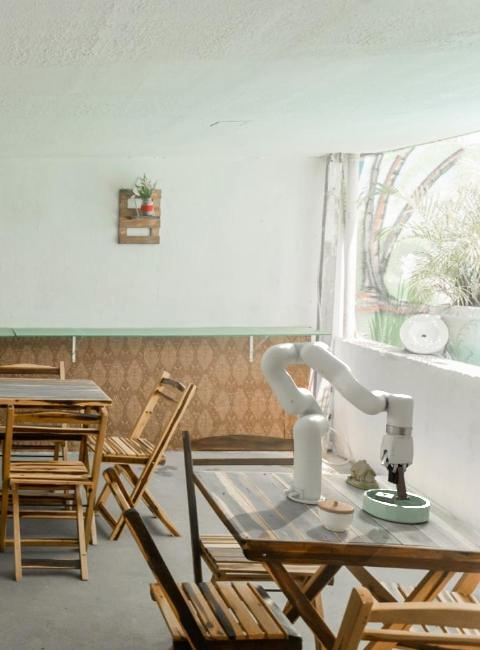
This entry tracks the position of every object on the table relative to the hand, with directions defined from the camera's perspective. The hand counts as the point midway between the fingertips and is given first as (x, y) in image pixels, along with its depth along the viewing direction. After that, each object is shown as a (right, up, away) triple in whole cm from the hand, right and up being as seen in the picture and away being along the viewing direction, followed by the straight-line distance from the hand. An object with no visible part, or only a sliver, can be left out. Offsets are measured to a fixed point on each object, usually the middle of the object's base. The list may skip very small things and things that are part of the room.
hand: (395, 482), depth 233 cm
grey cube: (+1, -12, +8) cm, 14 cm away
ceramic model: (+12, -11, +38) cm, 42 cm away
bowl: (+3, -13, +4) cm, 13 cm away
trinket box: (-26, -13, -9) cm, 31 cm away
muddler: (+1, -5, -3) cm, 6 cm away
